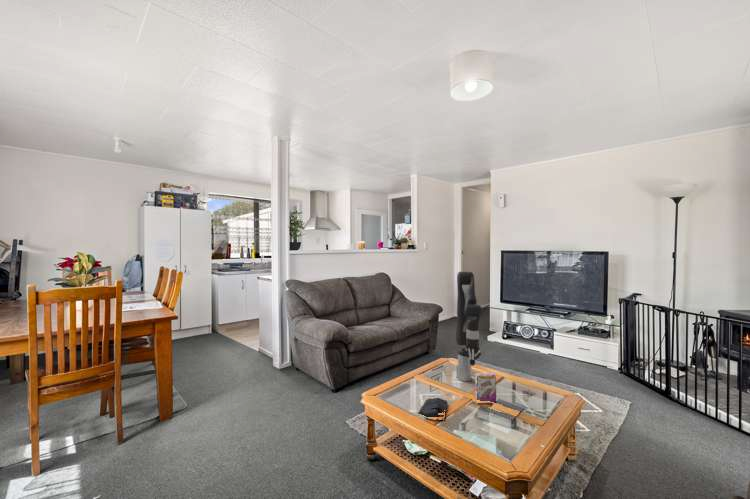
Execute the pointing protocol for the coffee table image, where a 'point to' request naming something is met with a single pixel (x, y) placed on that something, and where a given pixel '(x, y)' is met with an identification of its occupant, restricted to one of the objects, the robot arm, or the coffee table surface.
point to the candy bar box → (485, 387)
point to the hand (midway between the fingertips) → (472, 365)
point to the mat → (506, 404)
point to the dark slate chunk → (433, 407)
